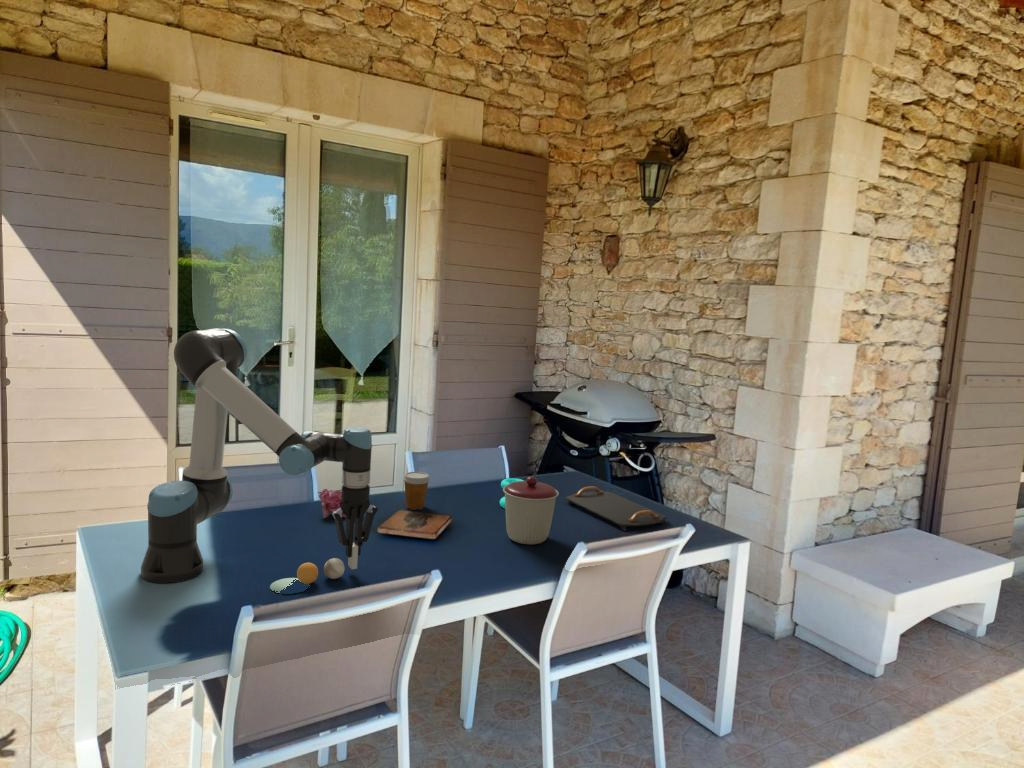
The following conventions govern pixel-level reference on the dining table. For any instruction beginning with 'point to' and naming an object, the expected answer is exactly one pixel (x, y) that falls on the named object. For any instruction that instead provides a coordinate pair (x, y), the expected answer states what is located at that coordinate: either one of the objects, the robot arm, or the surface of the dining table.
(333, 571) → the ivory ball
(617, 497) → the serving board
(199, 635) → the dining table surface
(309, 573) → the orange ball
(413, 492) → the disposable coffee cup
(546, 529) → the canister
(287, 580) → the pale green flat disc
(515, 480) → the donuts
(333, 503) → the flower
